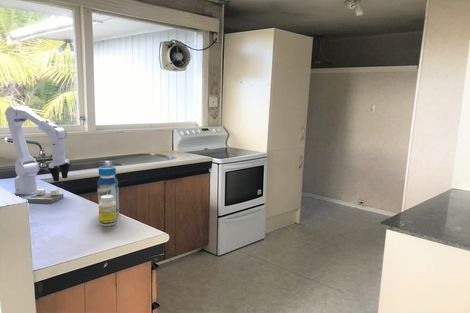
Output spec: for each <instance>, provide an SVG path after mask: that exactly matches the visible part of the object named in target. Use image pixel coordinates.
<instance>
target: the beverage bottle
mask: <svg viewBox="0 0 470 313" xmlns="http://www.w3.org/2000/svg"><path fill="white" fill-rule="evenodd" d="M116 169H117V168H116V166H112V165H107V166H100V167H99V168H98V176H99V179H98V180H97V189H96V190H97V197H98V198H97V200H98V202H97V203H98V204H99V203H100V202H101V196H103V195H113V197H114V199H113V201H115V203H116V215H118V214H119V213H120V200H119V198H120V196H119V190H120V189H119V181H118V179H117V177H116V174H117V170H116Z"/></svg>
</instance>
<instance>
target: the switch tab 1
mask: <svg viewBox="0 0 470 313" xmlns="http://www.w3.org/2000/svg"><path fill="white" fill-rule="evenodd" d="M45 193H47V192H46V188H37V190H36V193H35V194H37V195H43V194H45Z"/></svg>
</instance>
